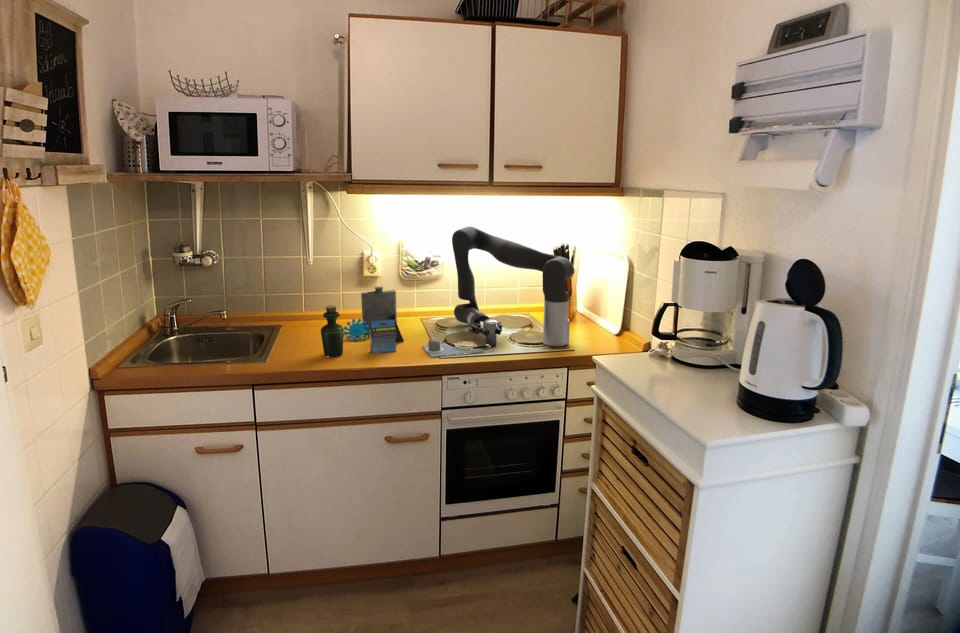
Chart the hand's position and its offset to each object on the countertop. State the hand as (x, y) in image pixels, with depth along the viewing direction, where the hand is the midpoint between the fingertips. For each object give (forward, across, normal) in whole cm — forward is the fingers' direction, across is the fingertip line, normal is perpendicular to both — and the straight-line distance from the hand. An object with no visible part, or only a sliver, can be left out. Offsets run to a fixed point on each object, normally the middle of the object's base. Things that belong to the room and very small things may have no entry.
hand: (493, 332), depth 237 cm
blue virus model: (-27, -47, +6) cm, 54 cm away
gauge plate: (-3, -15, +6) cm, 16 cm away
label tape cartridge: (-9, -40, +6) cm, 42 cm away
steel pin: (-3, 0, +6) cm, 7 cm away
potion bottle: (-10, -58, +6) cm, 59 cm away
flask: (-39, -36, +6) cm, 53 cm away
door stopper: (-21, -35, +6) cm, 41 cm away
